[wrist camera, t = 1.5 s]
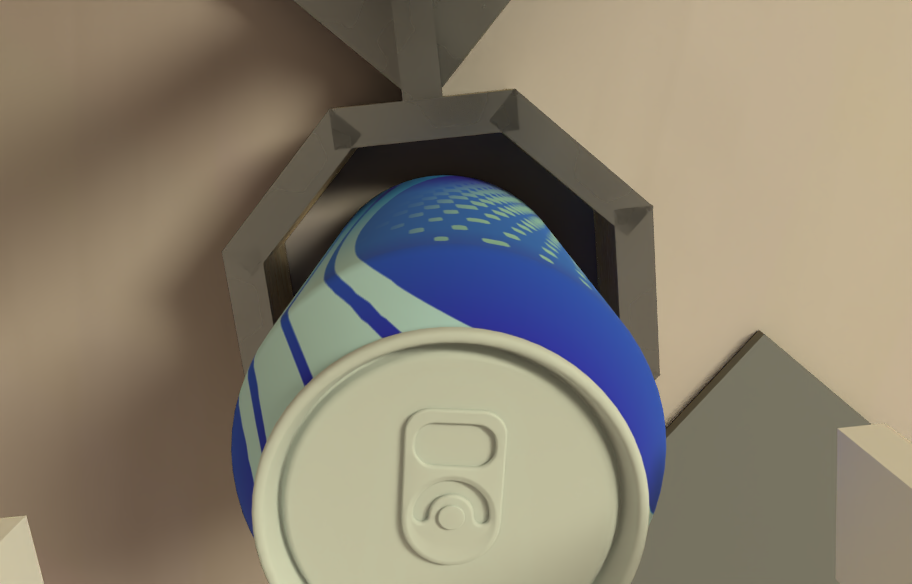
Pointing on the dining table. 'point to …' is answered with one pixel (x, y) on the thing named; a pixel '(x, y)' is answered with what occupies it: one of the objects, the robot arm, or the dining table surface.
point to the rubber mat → (750, 478)
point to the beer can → (448, 407)
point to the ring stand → (425, 118)
